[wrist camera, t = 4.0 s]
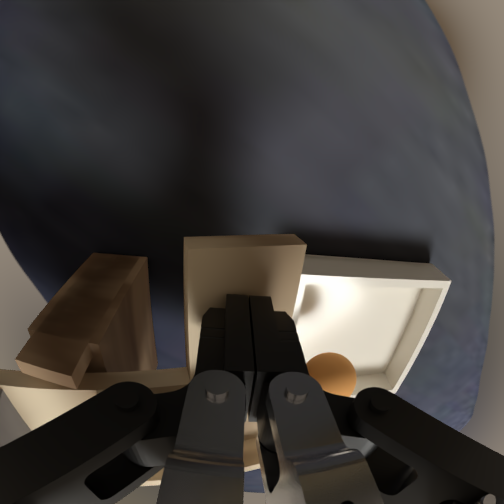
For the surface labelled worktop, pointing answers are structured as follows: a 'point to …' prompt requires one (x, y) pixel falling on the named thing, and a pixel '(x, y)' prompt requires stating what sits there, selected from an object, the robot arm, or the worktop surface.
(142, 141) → the worktop surface
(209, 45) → the worktop surface
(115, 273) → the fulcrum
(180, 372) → the lever
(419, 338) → the dish
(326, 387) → the ball
